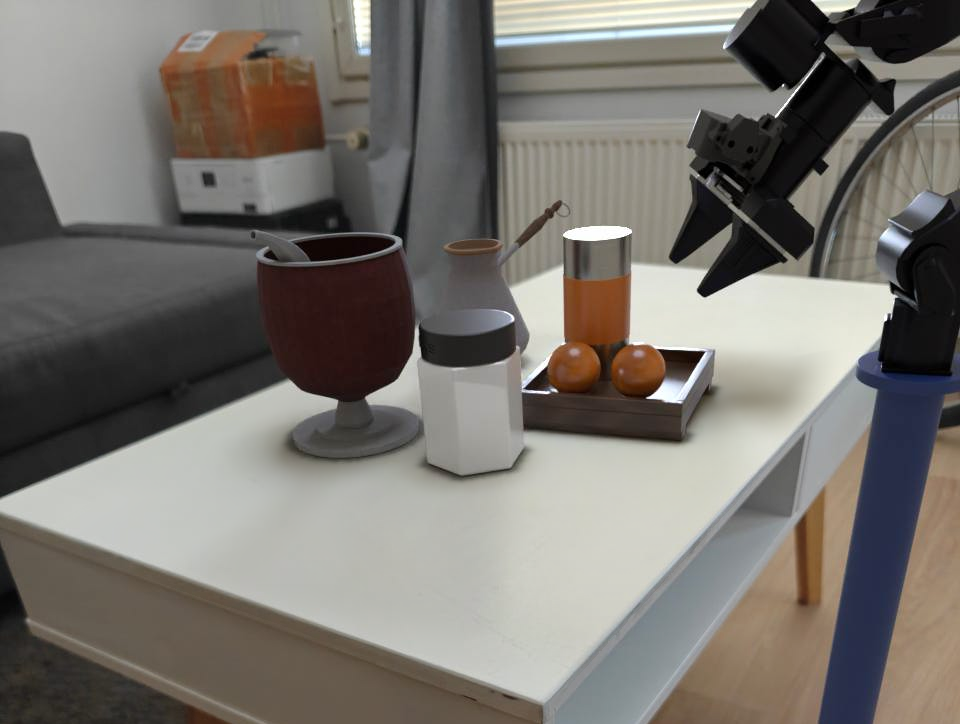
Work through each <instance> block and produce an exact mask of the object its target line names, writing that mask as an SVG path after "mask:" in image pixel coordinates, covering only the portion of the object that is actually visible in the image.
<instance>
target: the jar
mask: <svg viewBox="0 0 960 724" xmlns="http://www.w3.org/2000/svg"><path fill="white" fill-rule="evenodd" d="M417 330H418V337H417V338H418V346H419V348H420V357H419V358H418V359H417V360H416V364H417V366H416V367H417V376H418V384H419V394H420V403H421V413H422V422H423V431H424V433H423V434H424V441H425V450H426V452H425V453H426V461H427V463H428V464H430V465H432V466H435V467H438V468H441V469H443V470H445V471H448V472H450V473H453V474H456V475H458V476H461V477H462V476H463V477H464V476H469V475H475V474H482V473H488V472H489V473H490V472H496V471H500V470H501V471H502V470H508V469H511V468H512V467H513V465H514V464H515V462H516V460H517V459H518V457H519V456H520V454H521V453H522V451H523V450H524V448H525V441H524V440H525V438H524V427H523V410H522V385H521V383H522V363H521V355H520V347H519V346H516V331H515V319H514V317H513V316H512V315H510V314H508V313H506V312H503V311H498V310H490V309H466V310H456V311H450V312H445V313H440V314H437V313H436V314H433V315H431V316H428V317H426V318H424V319H423V320H422V321H421V322H419V324H418V329H417Z"/></svg>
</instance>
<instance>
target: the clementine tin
mask: <svg viewBox="0 0 960 724" xmlns="http://www.w3.org/2000/svg"><path fill="white" fill-rule="evenodd" d="M632 242H633V232H632V230H631V229H629V228H627V227H621V226H607V225H606V226H605V225H602V226H588V227H581V228H575V229H572V230H568V231H566V232H564V233H563V235H562V251H563V252H562V253H563V257H562V258H563V261H562V262H563V263H562V264H563V274H562V283H563V284H562V289H563V290H562V294H563V295H562V296H563V338H564V342H565V343H567V342H572V341H577V342H582V343H585V344H587V345H589V346H590V347H591V348H592V349H593V350H594V351H595V352H596V354H597V355H598V357H599V360H600V365H601V372H600V376H599V379H598V380H608V379H611V366H612V362H613V360H614V358H615V356H616V355H617V353H618V352H619V351H620V350H621V349H623V348H624V347H626V346H628V345H630V335H631V308H632V307H631V306H632V245H633V243H632Z"/></svg>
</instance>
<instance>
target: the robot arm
mask: <svg viewBox="0 0 960 724" xmlns="http://www.w3.org/2000/svg"><path fill="white" fill-rule="evenodd" d="M959 37H960V0H859V2H858V3H857V4H856V5H855V7H852V8H848V9H845V10H843V11H837V12H836V11H835V12H834V11H833V12H830V14H829V15H826V14H825V13H824V12H823V10H822V9H821V8H820V7H819V6H817V4H815V2H814V1H812V0H755V2H754V3H753V4H752V5H751V7H748V8H746V9H745V11H744V12H743V13H742V15H741V16H740V17H739V19H738V20H737V21H736V23H735V24H734V26H733V27H732V29H731V31H730V32H729V34H728V35H727V37H726V39H725V41H724V43H723V45H722V46H723V50H724V51H726V52H727V54H729V55H730V56H731V58H733V59H734V61H736V63H738V64H739V65H740V66H741V68H743V69H744V70H745V71H747V73H748V74H749V75H750V76H751V77H753V78H754V79H755V80H756V82H758V83H759V85H761V86H762V87H763V89H765V90H766V91H767V92H768V93H769V94H770V93H774V92H776V91H777V90H779V89H780V88H781V87H783V88H784V89H785V90H786V91H791V90H792V89H794V87H796V86H797V85H798V84H799V83H800V82H801V81H802V80H803V81H802V82H801V84H800V85H799V86H798V87H797V88H796V90H795V91H794V93H792V94H791V97H789V99H788V100H787V101H786V102H785V104H784V105H783V106H782V107H781V109H780V110H779V111H778V112H777V114H776V115H775V116H774V115H773V114H771V113H769V112H767V113H766V114H763V115H760V117H759V118H758V119H755V118H753V117H747V116H745V115H742V114H741V113H737V114H735V115H734V116H733V117H728V116H727V115H723V114H720V113H716V112H714V111H710V110H708V109H704V108H700V109H699V111H698V115H697V116H696V120H695V122H694V125H693V128H692V130H691V133H690V135H689V138H688V140H687V143H686V145H685V146H686V147H685V148H686V149H689V150H691V149H692V150H693V151H694V155H695V157H693V159H692V161H691V162H690V163H689V165H688V166H689V167H690V168H691V169H692V170H693V171H694V172H695V173H696V174H698V175H697V176H696V177H695V175H693V173H689V175H688V176H689V179H688V180H689V181H690V185H691V187H690V188H691V203H690V205H689V207H688V210H687V213H686V216H685V218H684V220H683V223H682V225H681V227H680V229H679V231H678V233H677V236H676V238H675V241H674V243H673V245H672V248H671V250H670V252H669V254H668V259H669V260H670V261H671V262H672V263H673V264H675V265H677V264H679V263H681V262H682V261H684V260H685V259H686V258H688V257H689V256H691V255H692V254H693V253H695V252H696V251H697V250H699V249H701V247H703V246H704V245H705V244H706V243H708V242H709V241H710V240H712V239H713V238H714V237H716V236H717V235H718V234H719V233H721V232H722V231H723V230H725V229H726V228H728V227H729V226H730V225H731V235H730V238H729V240H728V241H727V242H726V244H725V245H724V247H723V249H722V250H721V251H720V253H719V254H718V256H717V257H716V259H715V260H714V262H713V263H712V264H711V266H710V267H709V269H708V270H707V272H706V273H705V274H704V276H703V278H702V279H701V281H700V283H699V285H698V286H697V288H696V292H697V293H698V295H700V296H701V297H702V298H704V299H705V298H708V297H710V296H712V295H713V294H716V293H718V292H719V291H722V290H723V289H726V288H728V287H729V286H732V285H733V284H735V283H738V282H739V281H741V280H744V279H746V278H748V277H750V276H752V275H754V274H757V273H759V272H762V271H763V270H766V269H768V268H770V267H773V266H776V265H777V264H779V263H781V264H783V265H784V264H786V263H787V262H788V261H789V259H788V258H787V257H786V256H785V255H784V254H785V253H787V254H789V255H790V256H791V257H792V258H793V259H794V260H796V261H797V262H799V261H800V259H801V258H802V257H803V256H804V255H805V254H806V253H807V252H808V250H809V249H810V248H811V247H812V246H813V244H814V241H815V233H816V232H815V229H816V228H815V226H814V225H812V224H811V223H810V222H809V221H808V220H807V219H806V218H804V216H802V214H800V213H799V212H798V210H796V209H795V205H794V204H793V203H792V202H791V201H790V200H791V198H792V197H793V196H794V195H795V193H796V192H797V191H798V190H799V189H800V188H801V187H802V185H803V184H804V183H805V181H806V180H808V178H809V177H810V176H811V174H812V173H813V172H814V173H815V174H817V175H819V176H820V177H821V176H822V175H823V174H824V173H825V172H826V171H827V170H828V168H829V167H830V165H829V164H828V163H827V162H826V160H825V158H826V157H827V155H829V153H830V152H831V151H832V149H833V148H834V147H835V146H836V145H837V144H838V142H839V141H840V140H841V139H842V138H843V136H844V135H845V134H846V133H847V132H848V130H849V129H850V128H851V127H852V126H853V125H854V123H855V122H856V121H857V120H858V118H859V117H860V116H861V115H862V113H864V111H866V109H867V108H868V107H869V108H870V109H871V110H872V111H873V112H874V113H876V114H879V115H883V116H886V117H890V116H892V115H894V113H895V109H896V108H895V90H896V85H897V79H895V78H891V77H884V78H881V79H879V78H878V77H877V76H876V74H874V73H873V72H872V71H871V70H870V69H869V68H868V67H867V66H866V65H865V64H864V62H862V61H861V60H860V58H857V57H854V58H852V59H850V60H848V61H847V62H845V61H844V60H842V59H841V58H840V57H839V56H838V55H837V54H836V53H835V51H833V50H832V49H831V48H830V47H829V46H828V45H830V46H843V47H852V48H853V50H854V51H855V53H856V54H857V55H858V56H860V57H861V58H862V59H863V60H865V61H868V62H872V63H881V64H890V65H900V64H906V63H909V62H912V61H915V60H917V59H918V58H920V57H923V56H924V55H927V54H929V53H931V52H933V51H935V50H938V49H939V48H941V47H944V46H946V45H947V44H949V43H951V42H952V41H954V40H956V39H957V38H959ZM819 58H820V60H818V59H819ZM817 61H818V62H817ZM816 62H817V64H816ZM815 64H816V65H815ZM814 65H815V66H814ZM808 73H809V74H808ZM807 74H808V75H807ZM805 77H806V78H805ZM804 78H805V79H804ZM730 204H731V205H732V206H733V207H734V208H736V209H737V210H738V211H740V212H741V213H743V215H745V216H746V217H747V218H748V219H750V220H748V222H746V221H745V220H744V219H743V218H742V217H741V216H740V215H739V214H738V213H736V212H735V211H734V210H733V209H732V208H731V207H729V205H730ZM887 223H888V224H890V226H889V227H888V228H887V229H886V230H885V231H884V232H883V233H882V234H881V236H879V239H878V241H877V243H876V244H877V245H876V250H875V254H874V256H875V265H876V267H877V269H878V271H879V273H880V274H881V275H882V276H883V277H884V278H885V279H887V282H888V283H887V284H888V287H889V288H888V289H889V292H890V294H892V295H894V296H895V297H894V299H893V304H892V311H891V312H888V313H886V314H885V315H884V318H883V319H884V320H883V324H882V331H881V337H880V340H879V341H880V342H879V347H878V350H879V353H878V359H877V360H878V361H879V362H882V365H881V372H883V373H896V374H915V375H933V376H952V374H953V358H954V353H955V354H956V348H957V344H958V339H959V334H960V187H959V188H957V189H955V190H953V191H951V192H949V193H947V194H943V195H942V194H940V193H938V192H936V191H933V190H931V189H928V188H926V189H924V190H923V191H922V192H920V193H919V194H918V195H917V196H916V197H915V199H913V201H912V202H911V203H910V204H909V205H908V206H907V207H906V208H905V209H904V210H902V211H901V212H900V213H899V214H897V215H895V216H892V217H890V218H888V219H887Z"/></svg>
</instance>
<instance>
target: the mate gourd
mask: <svg viewBox="0 0 960 724" xmlns="http://www.w3.org/2000/svg"><path fill="white" fill-rule="evenodd" d="M249 239H250V240H251V241H258V242H261V243H263V244H264V245H265V247H263V248H261V249H260V250H258V251H257V252H256V253H255V257H256V260H257V262H256V288H257V301H258V307H259V313H260V317H261V323H262V327H263V330H264V334H265V337H266V339H267V342H268V345H269V348H270V352H271V355H272V357H273V360H274V361H275V363H276V365H277V368H278V369H279V371H281V373H283V374H284V376H286V377H287V378H288V380H290V382H292V384H294V385H295V386H296V387H297V388H298V389H299V390H300V391H301V392H304V393H307V394H311V395H314V396H318V397H324V398H328V399H332V400H335V401H337V405H336V408H333V409H329V410H326V411H323V412H320V413H317V414H314V415H311V416H309V417H308V418H306V419H304V420H303V421H301V422H300V423H298V424H297V425H296V426H295V428H294V429H293V432H292V440H293V443H294V446H295V447H296V448H297V449H298V450H299V451H301V452H302V453H305V454H307V455H311V456H314V457H320V458H330V459H349V458H350V459H351V458H361V457H366V456H372V455H377V454H381V453H386V452H389V451H391V450H394V449H396V448H399V447H402V446H403V445H406V444H407V443H409V442H410V441H412V440H413V438H416V436H417V435H418V433H419V430H420V425H419V418H418V417H417V415H416V414H415V413H414V412H413V411H410V410H407V409H405V408H402V407H399V406H394V405H386V404H369V402H368V400H367V397H368V396H369V395H372V394H373V393H376V392H377V391H379V390H382V389H384V388H386V387H388V386H390V385H392V384H393V383H394V382H396V381H397V380H399V378H400V376H401V374H402V372H403V371H404V369H405V367H406V365H407V364H408V362H409V360H410V358H411V357H412V355H413V353H414V345H415V338H416V337H415V336H416V304H415V297H414V296H415V295H414V285H413V279H412V276H411V275H412V274H411V271H410V267H409V263H408V259H407V256H406V253H405V250H404V247H403V239H402V238H401V237H399V236H398V235H397V236H396V235H394V234H389V233H381V232H369V231H368V232H365V231H363V232H337V233H326V234H318V235H310V236H303V237H298V238H293V239H285V238H282V237H280V236H277V235H274V234H272V233H269V232H266V231H260V230H259V229H258V230H257V229H251V230H250V231H249Z"/></svg>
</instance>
